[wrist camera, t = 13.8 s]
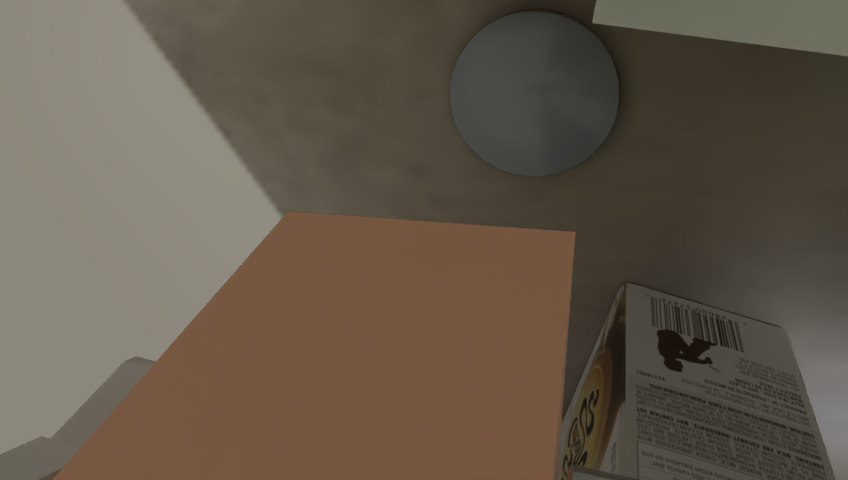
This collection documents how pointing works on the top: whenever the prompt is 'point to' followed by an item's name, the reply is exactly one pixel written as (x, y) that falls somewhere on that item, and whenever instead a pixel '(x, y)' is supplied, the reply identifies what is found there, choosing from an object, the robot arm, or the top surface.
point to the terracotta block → (359, 361)
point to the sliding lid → (738, 21)
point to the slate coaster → (534, 93)
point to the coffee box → (691, 397)
